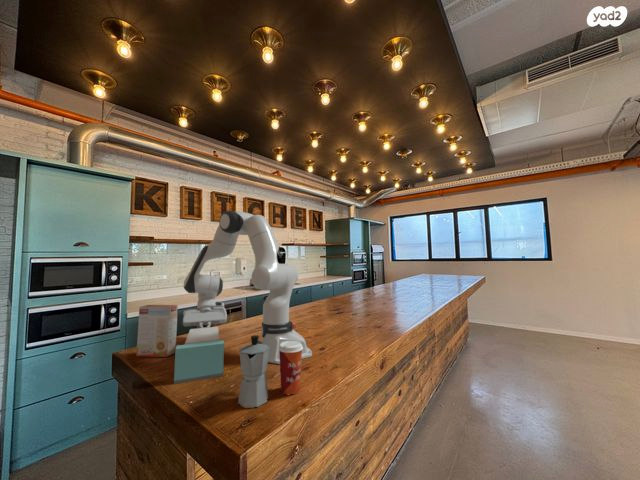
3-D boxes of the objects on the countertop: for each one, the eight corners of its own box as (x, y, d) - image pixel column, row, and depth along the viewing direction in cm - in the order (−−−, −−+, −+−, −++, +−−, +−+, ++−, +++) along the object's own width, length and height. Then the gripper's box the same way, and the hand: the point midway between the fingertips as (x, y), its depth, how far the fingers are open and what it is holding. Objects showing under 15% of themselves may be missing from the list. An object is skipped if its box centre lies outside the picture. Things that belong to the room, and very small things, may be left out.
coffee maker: (265, 412, 66) (267, 342, 67) (231, 414, 65) (233, 343, 66) (272, 385, 80) (273, 327, 82) (244, 386, 80) (245, 328, 81)
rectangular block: (220, 342, 123) (221, 320, 124) (223, 375, 87) (224, 343, 88) (186, 346, 117) (187, 323, 118) (173, 383, 81) (175, 349, 82)
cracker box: (176, 352, 110) (178, 304, 111) (166, 357, 104) (169, 306, 106) (146, 351, 111) (149, 304, 113) (135, 356, 105) (138, 306, 107)
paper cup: (292, 400, 72) (292, 349, 73) (272, 392, 76) (273, 345, 77) (308, 388, 78) (308, 342, 79) (288, 382, 82) (289, 338, 83)
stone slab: (218, 335, 119) (218, 326, 119) (218, 349, 99) (218, 339, 99) (189, 338, 114) (190, 329, 115) (184, 354, 94) (184, 343, 95)
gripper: (183, 305, 124) (180, 330, 115) (227, 302, 132) (227, 325, 122) (184, 312, 128) (180, 337, 118) (226, 309, 136) (226, 332, 126)
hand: (204, 331), depth 120 cm, fingers closed
